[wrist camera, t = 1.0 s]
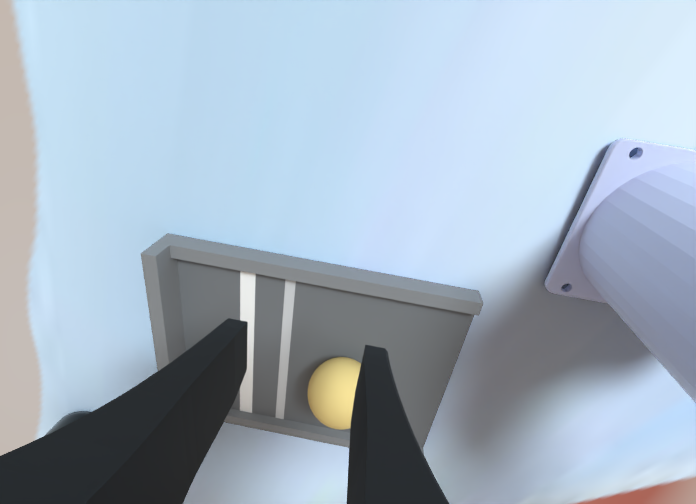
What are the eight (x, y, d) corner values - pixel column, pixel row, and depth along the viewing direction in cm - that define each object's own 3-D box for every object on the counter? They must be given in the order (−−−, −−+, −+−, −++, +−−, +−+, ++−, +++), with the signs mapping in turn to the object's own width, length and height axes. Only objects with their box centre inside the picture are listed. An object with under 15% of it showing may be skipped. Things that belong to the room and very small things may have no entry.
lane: (478, 291, 20) (488, 318, 18) (419, 446, 27) (422, 480, 25) (167, 233, 21) (140, 253, 19) (184, 398, 28) (166, 427, 25)
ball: (382, 349, 22) (379, 403, 19) (371, 394, 24) (366, 451, 21) (318, 337, 23) (303, 388, 19) (312, 383, 24) (297, 437, 21)
